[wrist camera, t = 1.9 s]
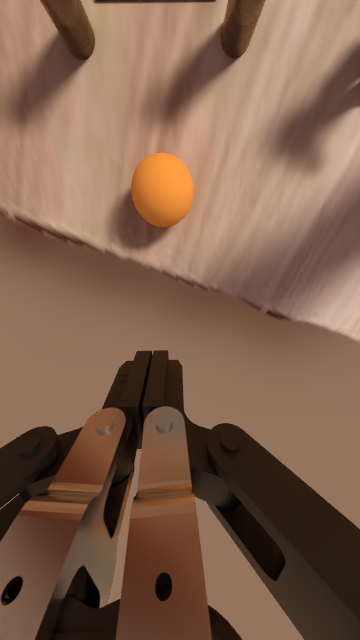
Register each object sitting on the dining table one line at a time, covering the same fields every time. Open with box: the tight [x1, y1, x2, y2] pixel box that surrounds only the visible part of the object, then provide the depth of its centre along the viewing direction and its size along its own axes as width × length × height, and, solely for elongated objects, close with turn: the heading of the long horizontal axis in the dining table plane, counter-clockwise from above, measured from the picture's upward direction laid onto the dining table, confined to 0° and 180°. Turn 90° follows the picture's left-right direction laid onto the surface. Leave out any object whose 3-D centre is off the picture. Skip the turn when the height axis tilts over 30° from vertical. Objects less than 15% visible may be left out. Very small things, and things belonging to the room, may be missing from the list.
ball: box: [131, 153, 193, 227], centre depth 19 cm, size 6×6×6 cm
